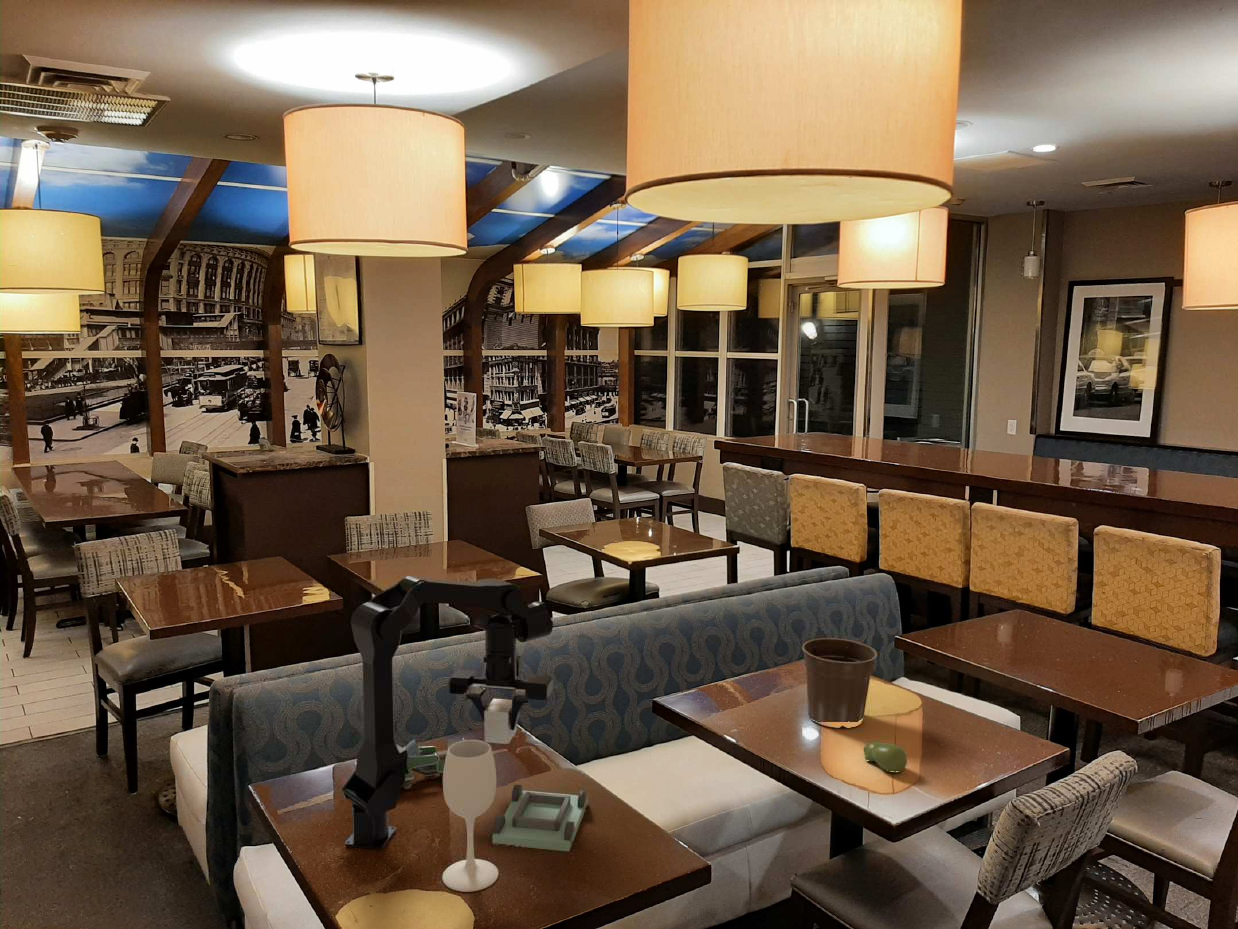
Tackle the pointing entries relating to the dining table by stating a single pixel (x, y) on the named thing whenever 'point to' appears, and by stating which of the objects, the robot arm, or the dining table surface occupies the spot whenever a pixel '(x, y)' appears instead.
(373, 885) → the dining table surface
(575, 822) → the chassis
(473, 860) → the wineglass
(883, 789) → the dining table surface
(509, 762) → the dining table surface
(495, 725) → the white block
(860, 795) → the dining table surface
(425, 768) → the hoverbike
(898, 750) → the pear
